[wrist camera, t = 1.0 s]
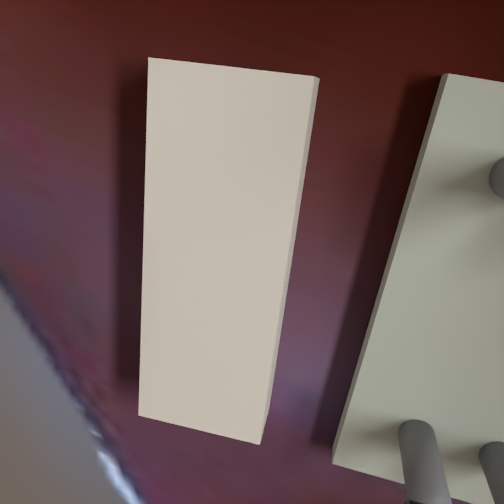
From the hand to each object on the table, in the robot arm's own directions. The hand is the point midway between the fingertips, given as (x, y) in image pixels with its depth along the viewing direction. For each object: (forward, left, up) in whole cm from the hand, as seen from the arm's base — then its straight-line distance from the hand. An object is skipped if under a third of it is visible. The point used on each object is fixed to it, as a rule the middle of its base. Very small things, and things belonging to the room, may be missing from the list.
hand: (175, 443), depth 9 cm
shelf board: (-1, +2, -13) cm, 13 cm away
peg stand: (-1, -10, -12) cm, 16 cm away
